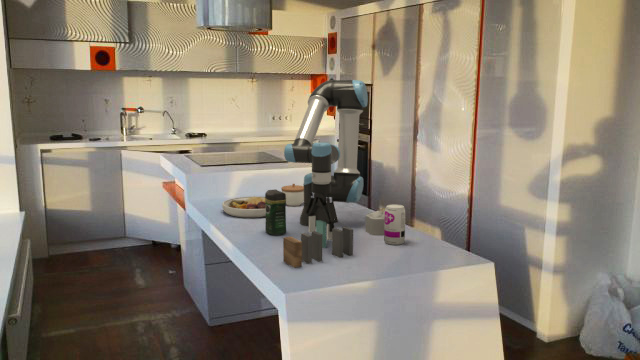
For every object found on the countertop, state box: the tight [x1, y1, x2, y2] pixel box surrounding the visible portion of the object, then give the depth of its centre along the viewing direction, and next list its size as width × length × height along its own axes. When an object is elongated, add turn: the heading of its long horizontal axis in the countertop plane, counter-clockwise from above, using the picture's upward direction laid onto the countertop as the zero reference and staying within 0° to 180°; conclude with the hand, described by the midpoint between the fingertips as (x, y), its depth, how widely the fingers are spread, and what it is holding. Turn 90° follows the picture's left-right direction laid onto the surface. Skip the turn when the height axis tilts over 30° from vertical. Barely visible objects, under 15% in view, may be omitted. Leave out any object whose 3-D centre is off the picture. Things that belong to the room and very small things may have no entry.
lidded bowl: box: [280, 183, 304, 207], centre depth 314 cm, size 13×13×11 cm
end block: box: [282, 236, 303, 268], centre depth 217 cm, size 3×8×9 cm, turn 32°
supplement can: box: [383, 203, 406, 246], centre depth 244 cm, size 8×8×15 cm
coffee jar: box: [264, 189, 287, 236], centre depth 258 cm, size 10×8×19 cm
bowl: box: [221, 195, 266, 219], centre depth 298 cm, size 30×30×8 cm
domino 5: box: [341, 226, 354, 257], centre depth 229 cm, size 2×5×10 cm, turn 32°
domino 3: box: [311, 230, 324, 262], centre depth 222 cm, size 2×5×10 cm, turn 32°
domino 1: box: [300, 232, 313, 264], centre depth 220 cm, size 2×5×10 cm, turn 32°
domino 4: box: [331, 227, 344, 259], centre depth 227 cm, size 2×5×10 cm, turn 32°
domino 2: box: [315, 220, 327, 249], centre depth 240 cm, size 2×5×10 cm, turn 32°
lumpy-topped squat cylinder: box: [365, 210, 385, 236], centre depth 261 cm, size 10×13×9 cm
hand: (320, 235), depth 239 cm, fingers open, 13 cm apart
